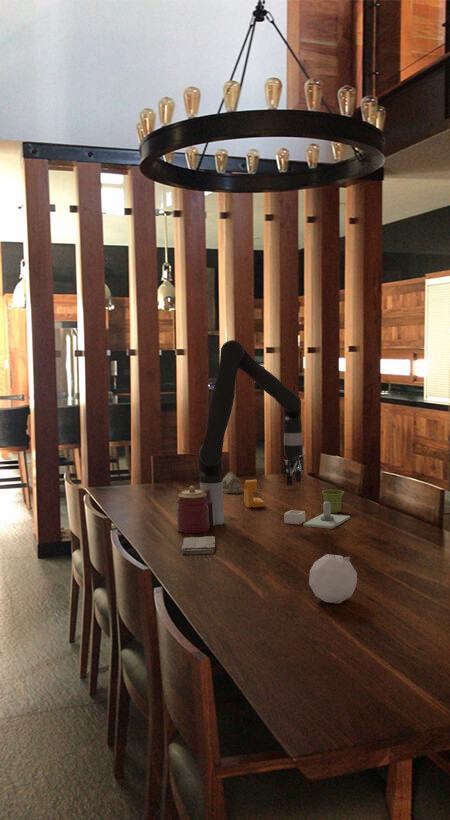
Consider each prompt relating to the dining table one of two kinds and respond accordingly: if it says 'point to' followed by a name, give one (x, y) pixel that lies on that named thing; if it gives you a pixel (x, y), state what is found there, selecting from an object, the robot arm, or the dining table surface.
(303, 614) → the dining table surface
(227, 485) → the ceramic model
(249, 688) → the dining table surface
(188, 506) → the canister
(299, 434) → the robot arm
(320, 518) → the stand
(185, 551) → the washcloth
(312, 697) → the dining table surface
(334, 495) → the plant pot
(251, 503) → the bracket
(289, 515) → the white hollow square block
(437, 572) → the dining table surface
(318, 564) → the geodesic sphere
